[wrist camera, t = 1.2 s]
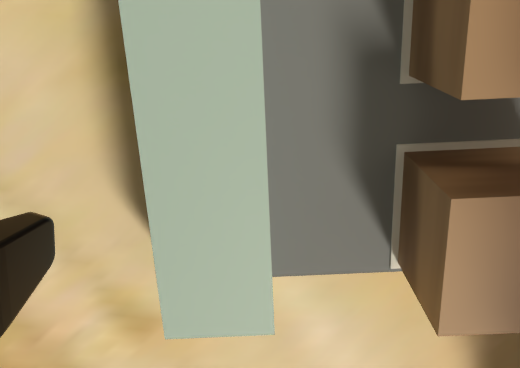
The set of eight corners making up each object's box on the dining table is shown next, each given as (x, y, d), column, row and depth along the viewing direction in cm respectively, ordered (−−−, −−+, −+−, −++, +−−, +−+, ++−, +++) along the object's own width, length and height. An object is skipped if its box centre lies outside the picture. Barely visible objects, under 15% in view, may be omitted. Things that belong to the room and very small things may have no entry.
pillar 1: (408, 75, 18) (461, 100, 14) (417, -74, 17) (481, -104, 12) (542, 69, 18) (640, 91, 14) (564, -81, 17) (686, -115, 12)
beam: (271, 276, 21) (274, 334, 18) (180, 280, 21) (164, 339, 18) (255, -81, 17) (255, -106, 13) (139, -75, 17) (104, -99, 13)
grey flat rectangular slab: (182, 275, 22) (180, 282, 21) (141, -74, 17) (138, -76, 17) (540, 260, 22) (546, 266, 21) (602, -97, 17) (612, -100, 16)
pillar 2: (397, 262, 21) (437, 336, 16) (404, 152, 19) (451, 199, 15) (513, 257, 21) (587, 330, 16) (530, 145, 19) (618, 191, 15)
